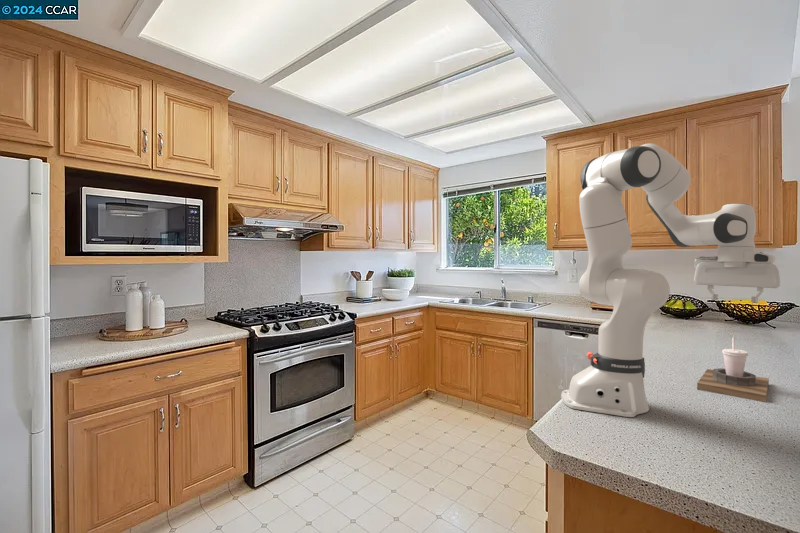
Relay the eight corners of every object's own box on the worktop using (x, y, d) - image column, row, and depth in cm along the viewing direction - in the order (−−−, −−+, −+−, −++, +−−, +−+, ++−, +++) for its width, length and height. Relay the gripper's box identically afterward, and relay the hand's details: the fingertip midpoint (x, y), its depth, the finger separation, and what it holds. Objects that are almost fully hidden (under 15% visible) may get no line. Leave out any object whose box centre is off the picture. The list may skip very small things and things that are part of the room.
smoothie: (737, 377, 129) (737, 335, 129) (752, 384, 123) (753, 339, 122) (716, 377, 130) (717, 335, 129) (731, 383, 123) (731, 339, 123)
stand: (766, 402, 113) (766, 386, 113) (697, 389, 124) (697, 375, 124) (768, 384, 128) (768, 370, 128) (707, 374, 140) (707, 361, 140)
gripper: (692, 256, 126) (691, 298, 126) (781, 256, 111) (779, 304, 111) (695, 256, 130) (694, 297, 130) (781, 257, 116) (779, 303, 116)
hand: (734, 301), depth 121 cm, fingers open, 8 cm apart
